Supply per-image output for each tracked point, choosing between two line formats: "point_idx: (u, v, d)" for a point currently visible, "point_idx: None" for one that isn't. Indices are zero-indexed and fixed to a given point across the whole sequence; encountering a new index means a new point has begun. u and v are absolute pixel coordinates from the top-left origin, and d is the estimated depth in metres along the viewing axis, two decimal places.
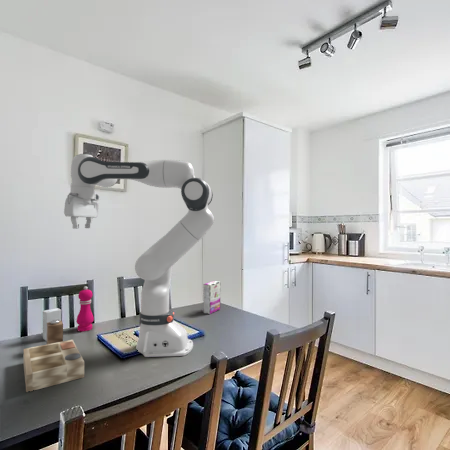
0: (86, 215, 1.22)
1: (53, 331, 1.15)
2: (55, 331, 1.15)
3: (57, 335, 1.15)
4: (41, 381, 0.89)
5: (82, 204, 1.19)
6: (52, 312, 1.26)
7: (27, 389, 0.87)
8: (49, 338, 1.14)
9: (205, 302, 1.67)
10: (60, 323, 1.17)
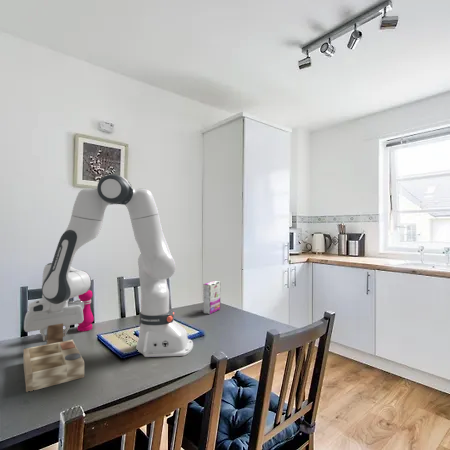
0: None
1: (53, 331, 1.15)
2: (55, 331, 1.15)
3: (57, 335, 1.15)
4: (41, 381, 0.89)
5: None
6: None
7: (27, 389, 0.87)
8: (49, 337, 1.14)
9: (205, 302, 1.67)
10: None
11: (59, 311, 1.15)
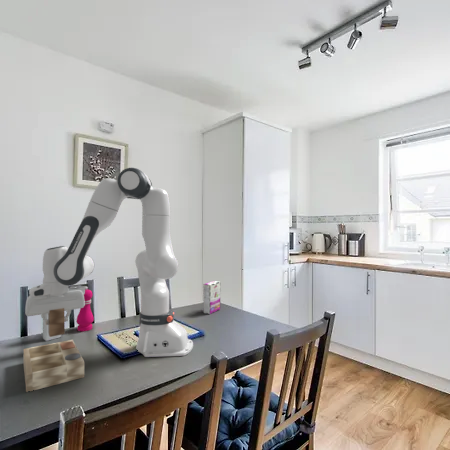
0: None
1: (55, 315, 1.15)
2: (56, 316, 1.15)
3: (59, 319, 1.16)
4: (41, 381, 0.89)
5: None
6: None
7: (27, 389, 0.87)
8: (51, 322, 1.14)
9: (205, 302, 1.67)
10: None
11: (60, 296, 1.15)
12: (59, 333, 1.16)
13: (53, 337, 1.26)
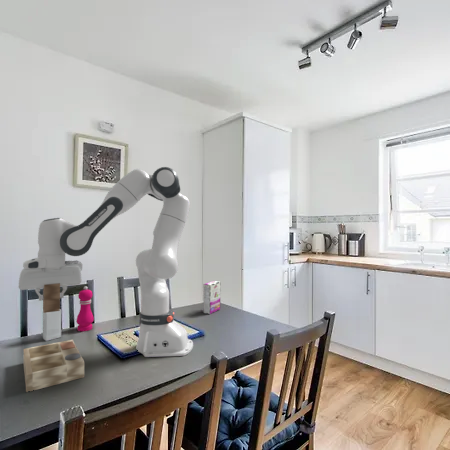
0: None
1: (50, 290, 1.08)
2: (51, 291, 1.09)
3: (54, 295, 1.09)
4: (41, 381, 0.89)
5: None
6: (52, 312, 1.26)
7: (27, 389, 0.87)
8: (45, 297, 1.08)
9: (205, 302, 1.67)
10: None
11: (56, 270, 1.09)
12: (54, 309, 1.09)
13: (53, 337, 1.26)
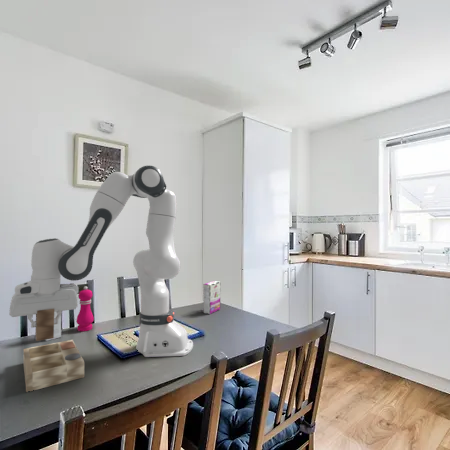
0: None
1: (43, 317, 1.01)
2: (45, 317, 1.02)
3: (47, 321, 1.02)
4: (41, 381, 0.89)
5: None
6: None
7: (27, 389, 0.87)
8: (38, 324, 1.00)
9: (205, 302, 1.67)
10: None
11: (50, 294, 1.02)
12: (47, 337, 1.02)
13: None
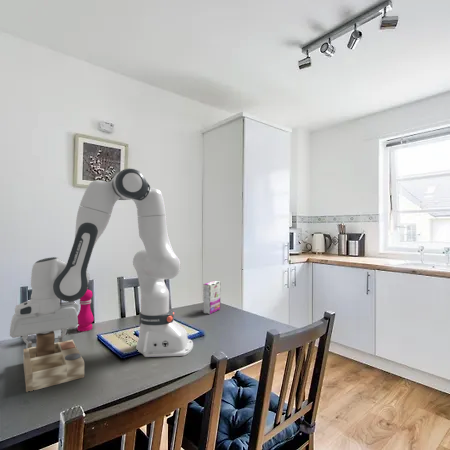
0: None
1: (44, 342, 1.01)
2: (45, 342, 1.02)
3: (48, 347, 1.02)
4: (41, 381, 0.89)
5: None
6: None
7: (27, 389, 0.87)
8: (38, 350, 1.01)
9: (205, 302, 1.67)
10: (51, 333, 1.04)
11: (50, 314, 1.02)
12: None
13: None
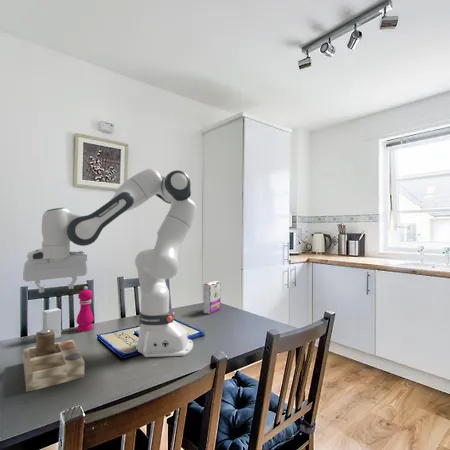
0: None
1: (44, 342, 1.01)
2: (45, 342, 1.02)
3: (48, 347, 1.02)
4: (41, 381, 0.89)
5: None
6: (52, 312, 1.26)
7: (27, 389, 0.87)
8: (38, 350, 1.01)
9: (205, 302, 1.67)
10: (51, 333, 1.04)
11: (61, 260, 1.07)
12: None
13: None
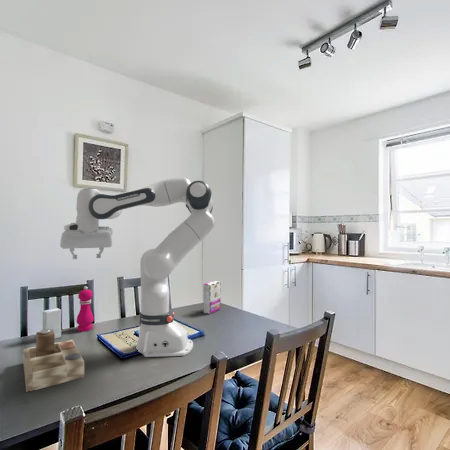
0: None
1: (44, 342, 1.01)
2: (45, 342, 1.02)
3: (48, 347, 1.02)
4: (41, 381, 0.89)
5: None
6: (52, 312, 1.26)
7: (27, 389, 0.87)
8: (38, 350, 1.01)
9: (205, 302, 1.67)
10: (51, 333, 1.04)
11: (91, 233, 1.27)
12: None
13: None
